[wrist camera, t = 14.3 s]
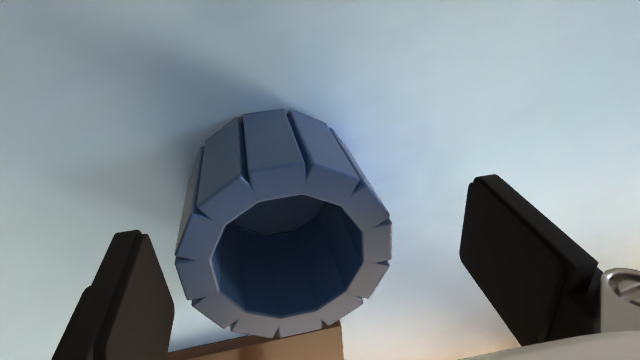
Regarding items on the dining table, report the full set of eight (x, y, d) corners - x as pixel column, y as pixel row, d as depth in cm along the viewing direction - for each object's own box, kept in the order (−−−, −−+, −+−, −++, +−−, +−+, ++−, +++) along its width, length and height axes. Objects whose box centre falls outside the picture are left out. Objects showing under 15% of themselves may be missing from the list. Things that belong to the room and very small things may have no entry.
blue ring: (170, 123, 14) (148, 187, 10) (350, 99, 14) (394, 148, 11) (210, 265, 17) (204, 355, 13) (355, 237, 18) (391, 314, 14)
